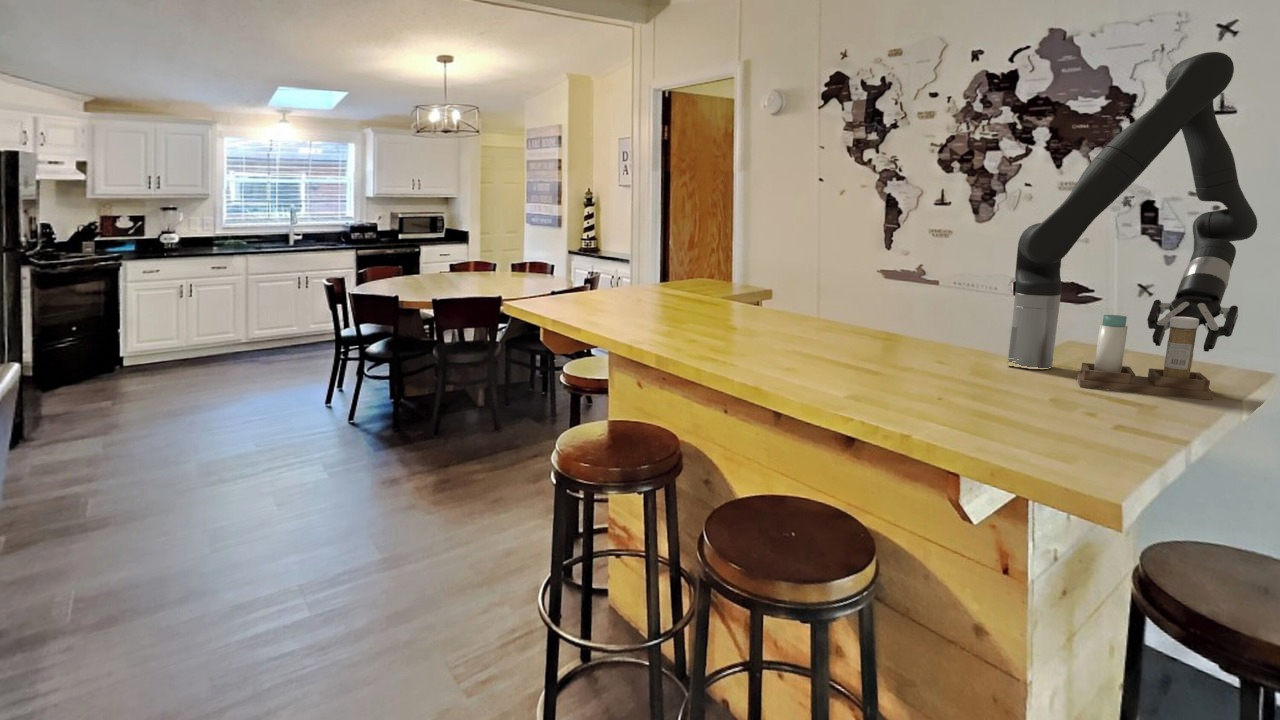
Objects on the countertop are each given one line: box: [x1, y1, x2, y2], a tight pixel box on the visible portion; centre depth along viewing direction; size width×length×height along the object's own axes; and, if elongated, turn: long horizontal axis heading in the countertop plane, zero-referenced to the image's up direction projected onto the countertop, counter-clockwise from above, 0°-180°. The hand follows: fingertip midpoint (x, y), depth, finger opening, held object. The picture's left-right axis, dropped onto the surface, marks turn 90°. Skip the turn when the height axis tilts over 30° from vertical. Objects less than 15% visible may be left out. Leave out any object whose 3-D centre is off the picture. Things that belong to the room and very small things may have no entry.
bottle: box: [1094, 314, 1129, 373], centre depth 147 cm, size 5×5×13 cm
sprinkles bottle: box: [1163, 317, 1200, 379], centre depth 141 cm, size 5×5×14 cm
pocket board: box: [1075, 362, 1214, 401], centre depth 145 cm, size 22×10×4 cm, turn 62°
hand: (1181, 346), depth 140 cm, fingers open, 7 cm apart
